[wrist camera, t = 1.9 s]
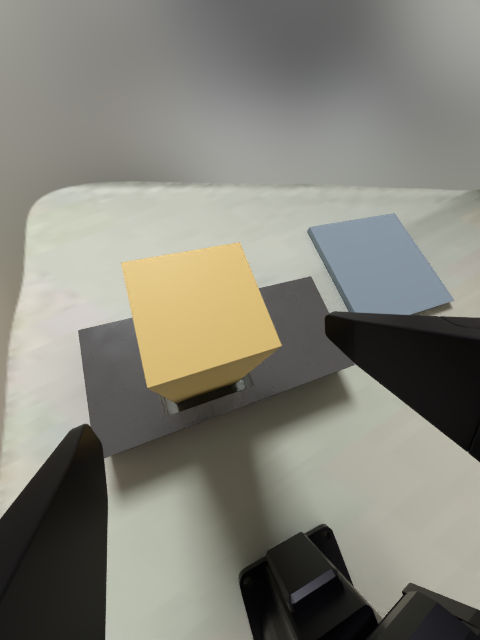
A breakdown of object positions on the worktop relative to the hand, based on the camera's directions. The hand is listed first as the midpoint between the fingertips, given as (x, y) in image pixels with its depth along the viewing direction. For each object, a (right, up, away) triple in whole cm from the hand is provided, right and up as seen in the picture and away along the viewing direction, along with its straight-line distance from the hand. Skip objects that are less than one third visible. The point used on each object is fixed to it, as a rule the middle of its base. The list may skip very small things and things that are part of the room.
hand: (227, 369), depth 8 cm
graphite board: (-1, -1, +11) cm, 11 cm away
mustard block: (-3, -2, +10) cm, 11 cm away
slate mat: (+15, +8, +17) cm, 24 cm away
